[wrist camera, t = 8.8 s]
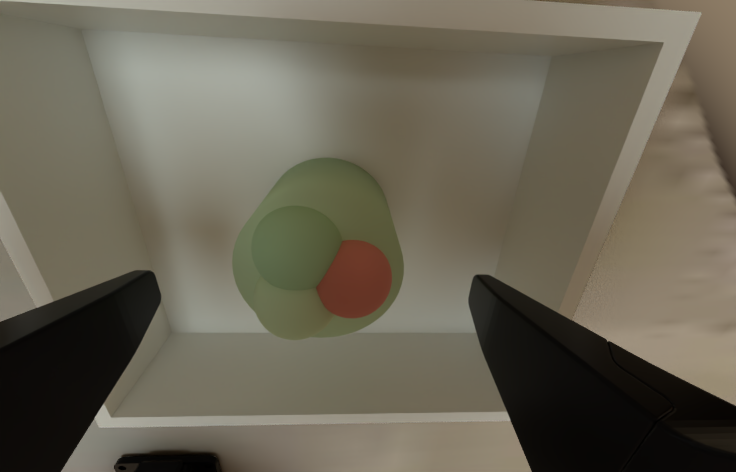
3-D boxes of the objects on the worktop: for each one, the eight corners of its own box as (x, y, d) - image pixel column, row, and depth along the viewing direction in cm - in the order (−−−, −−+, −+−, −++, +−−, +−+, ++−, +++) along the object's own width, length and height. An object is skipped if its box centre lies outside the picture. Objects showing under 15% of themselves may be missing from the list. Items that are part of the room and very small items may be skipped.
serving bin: (483, 333, 18) (529, 420, 13) (168, 333, 17) (99, 427, 12) (563, 39, 12) (702, 12, 7) (69, 9, 10) (-149, -48, 6)
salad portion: (384, 270, 15) (402, 370, 10) (273, 268, 15) (229, 371, 9) (393, 160, 13) (423, 213, 7) (261, 155, 12) (195, 208, 7)
